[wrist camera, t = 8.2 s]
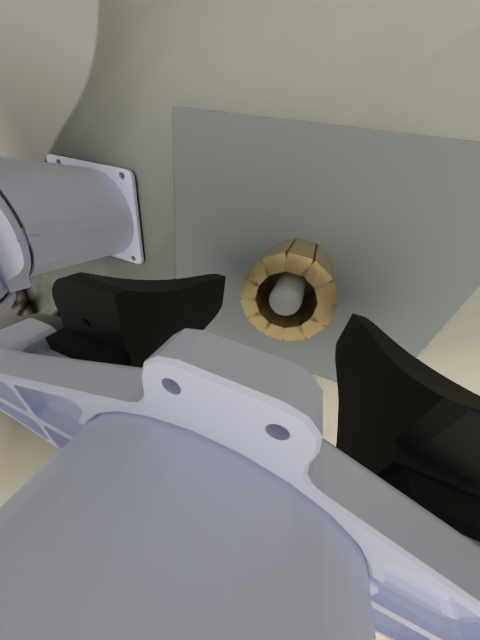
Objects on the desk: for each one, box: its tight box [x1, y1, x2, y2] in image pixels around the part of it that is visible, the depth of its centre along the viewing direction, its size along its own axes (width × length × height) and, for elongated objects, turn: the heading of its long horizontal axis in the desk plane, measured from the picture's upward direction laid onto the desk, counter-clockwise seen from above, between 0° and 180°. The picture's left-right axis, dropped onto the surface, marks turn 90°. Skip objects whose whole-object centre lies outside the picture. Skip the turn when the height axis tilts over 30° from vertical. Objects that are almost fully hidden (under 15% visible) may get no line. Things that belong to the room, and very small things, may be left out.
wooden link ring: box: [240, 238, 337, 341], centre depth 14 cm, size 6×6×5 cm
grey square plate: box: [173, 106, 480, 382], centre depth 14 cm, size 22×18×6 cm
